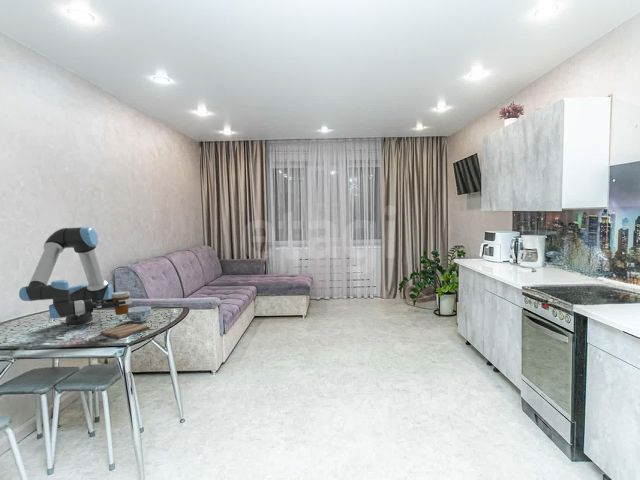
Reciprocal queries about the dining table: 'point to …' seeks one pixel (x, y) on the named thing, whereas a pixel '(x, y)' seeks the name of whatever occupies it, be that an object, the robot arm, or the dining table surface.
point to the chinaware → (138, 313)
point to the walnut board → (125, 330)
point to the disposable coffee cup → (121, 296)
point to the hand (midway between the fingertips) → (130, 299)
